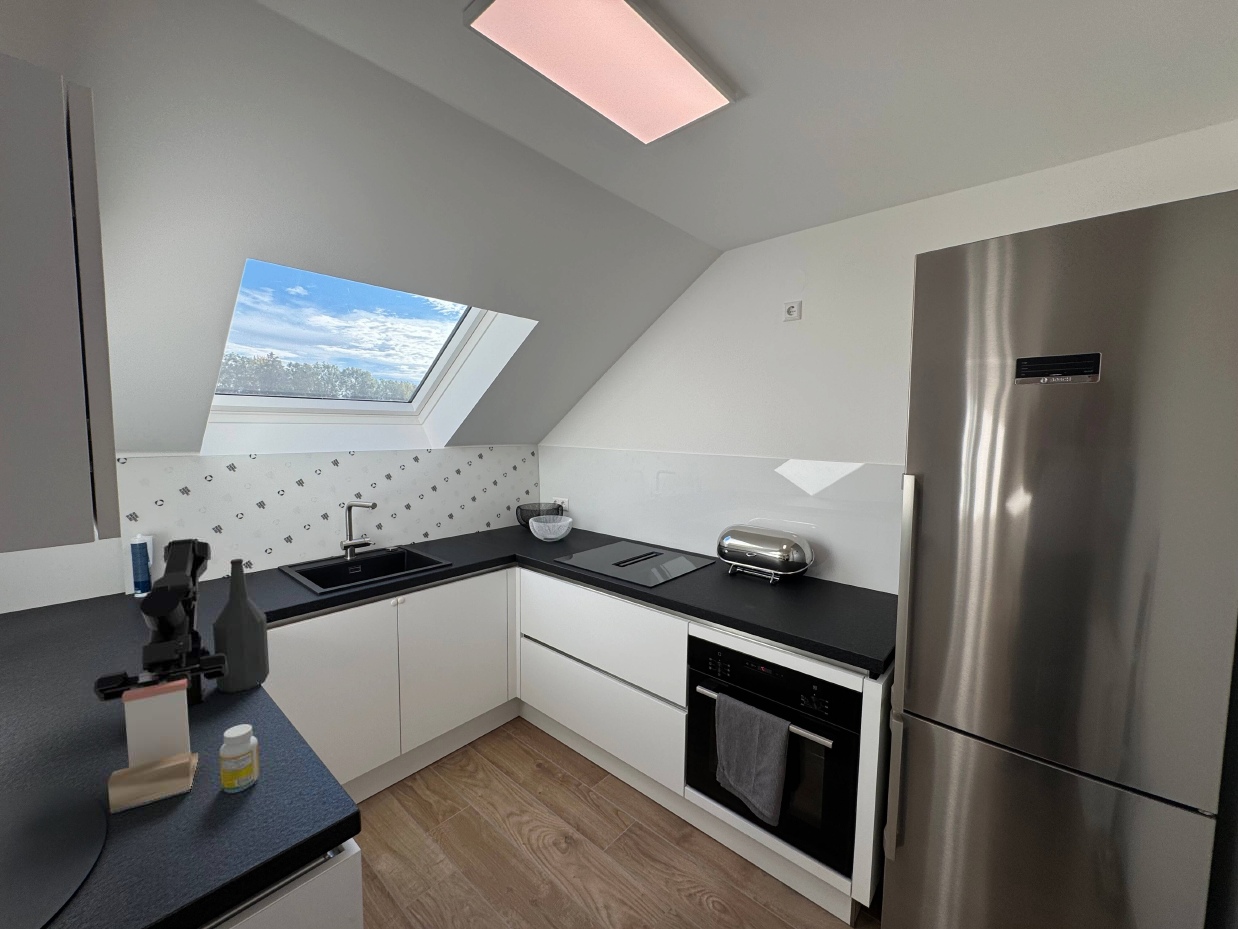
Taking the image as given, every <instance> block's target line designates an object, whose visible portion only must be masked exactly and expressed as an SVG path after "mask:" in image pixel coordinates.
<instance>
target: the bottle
mask: <svg viewBox="0 0 1238 929" xmlns="http://www.w3.org/2000/svg"><path fill="white" fill-rule="evenodd" d="M229 563H230V565H231V567H230V580H229V581H230V582H229V594H228V601H227V602H226V604H225V605H224V608H223V609H222V610H221V612H220V613H219V615H218V617H217V619H216V620H215V622H214V624H213V625H212V631H213V635H212V636H213V649H214V650H213V651H214V654H219V653H223V654H224V655H226V658H227V663H228V675H227V676H226V677H223V678H218V679H215V680H216V688H217V689H219V691H220V692H223V691H228V692H227V693H230V692H233V693H237V692H236V691H239V692H243V691H242V690H245V691H248V690H250V689H253V688H256V687H258V686H261V685H262V684H263V683H265V682H266V680H267V679H268V676H269V674H270V667H269V666H270V664H269V663H270V662H269V660H270V659H269V644H268V642H269V641H268V626H267V625H268V622H267V615H266V613H265V612H264V611H263V610H262V609H261V608H260V607H259V606H258V605H257V604H256V603H255V602H254V601H253V600H252V598H251V597H249V592H248V591H249V590H248V588H247V587H248V586H247V582H246V575H245V571H244V565H243V563H244V559H242V558H234V559H231V561H230V562H229ZM257 682H258V683H259V684H260V685H258V683H257ZM234 691H235V692H234Z"/></svg>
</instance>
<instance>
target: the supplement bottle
mask: <svg viewBox="0 0 1238 929" xmlns="http://www.w3.org/2000/svg"><path fill="white" fill-rule="evenodd" d="M253 734H254V731H253V725H251V724H249V723H248V724H247V723H245V724H238V725H235V726H232V727H230V728H227V729H226V730H225V731H224V732H223V744H222V745H221V747H220V749H219V768H220V769H219V770H220V783H221V784H220V785H221V789H222V788H223V789H225V790H234V789H239V788H242V787H245V786H247V785H248V784H250V783H252V782H254V781H255V780H256V779H257V778H258V776H259V777H260V769H259V768H260V764H259V744H258V739H257V737H255V736H254V735H253Z"/></svg>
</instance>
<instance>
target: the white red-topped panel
mask: <svg viewBox="0 0 1238 929" xmlns="http://www.w3.org/2000/svg"><path fill="white" fill-rule="evenodd" d="M186 688H187V679H184V680H179V681H174V682H169V683H167V682H164V683H160V684H159V685H154V686H149V687H144V688H139V689H137V688H134V689H131V690H129V691H124V693H123V695H122V698H121V700H122V701H121V702H122V703H124V715H125V718H124V719H125V728H126V740H127V741H126V742H127V754H128V756H127V757H128V768H130V767H133V766H137V765H141V764H145V763H149V762H153V761H157V760H161V759H164V758H168V757H172V756H176V755H180V754H184V753H188V752H191V742H190V741H191V740H190V730H189V729H190V728H189V713H188V712H189V711H188V710H189V709H188V706H187V695H186Z"/></svg>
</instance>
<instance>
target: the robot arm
mask: <svg viewBox="0 0 1238 929" xmlns="http://www.w3.org/2000/svg"><path fill="white" fill-rule="evenodd" d="M211 559H212V550H211V546H210V543H208V542H205V541H199V540H197V539H196V538H195V539H194V538H185V539H184V538H183V539H174V540H172V541H168V544H166V545H165V546H164V547H163V563H165V568H164V572H163V575H162V577H159V578H158V579H156V580H155V581H153V583H152V586H151V588H150V591H148V592H146V595H145V597H144V598H143V599H142V601H141V602H140V605H139V608H140V611H141V614H142V617H143V619H144V620H145V624H146V625H147V627H148V628H149V629H150V632H149V634H150V635H149V642H148V644H147V645H146V644H145V645H143V646H142V647H141V665H142V670H143V671H144V673H140V674H138V675H135V676H134V675H133V676H129V675H128V673H127V671H126V670H122V671H118V672H111V673H107V674H106V673H105V674H101V675H99V676H98V677H97V678H96V680H95V681H94V684H93V692H94V694H95V695H96V696H97V698H98V700H100V702H110V701H115V700H121V699H122V695H123V693H124V691H129V690H132V688H136V689H139V688H144V687H149V686H154V685H159V684H161V683H162V682H166V683H169V682H174V681H179V680H184V679H187V688H186V695H187V707H188V706H191V705H192V704H193V705H197V704H201V703H200V702H202V701H203V702H205V698H204V697H206V693H207V688H203V682H202V681H203V680H202V679H203V678H204V679H206V680H207V681H212V680H216V679H218V678H223V677H226V676H227V675H228V663H227V658H226V655H224V654H223V653H219V654H215V653H214V654H211V652H210V650H208V647H207V646H206V645H204V641H203V637H202V635H201V634H200V633H199V632H198V630H197V619H198V617H197V616H198V600H199V599H200V591H199V579H200V578H201V576H203V574H204V573H205V572H206V571H207V570H208V565H209V564H208V561H210V560H211ZM145 671H146V672H145ZM202 674H203V678H202ZM203 702H202V703H203ZM193 705H192V706H193Z"/></svg>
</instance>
